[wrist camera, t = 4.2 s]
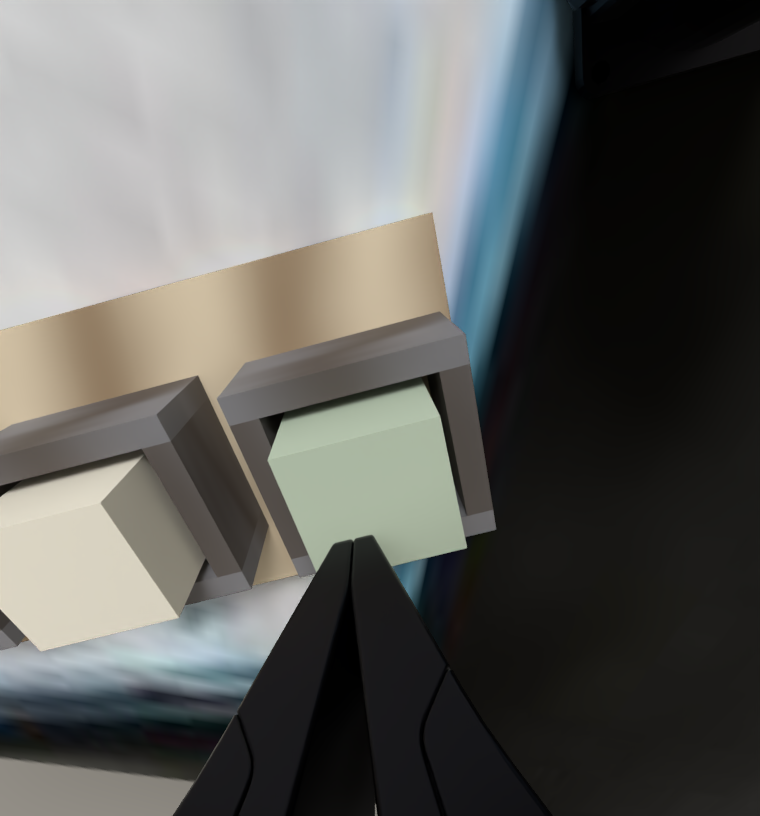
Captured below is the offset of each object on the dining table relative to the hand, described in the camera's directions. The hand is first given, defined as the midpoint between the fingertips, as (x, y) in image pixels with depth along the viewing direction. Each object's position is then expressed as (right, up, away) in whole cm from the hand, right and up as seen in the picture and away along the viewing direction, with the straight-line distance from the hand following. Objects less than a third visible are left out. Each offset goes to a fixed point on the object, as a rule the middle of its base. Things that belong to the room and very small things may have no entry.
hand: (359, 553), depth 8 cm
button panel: (-8, +1, +7) cm, 11 cm away
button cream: (-8, 0, +4) cm, 9 cm away
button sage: (0, +2, +4) cm, 4 cm away
